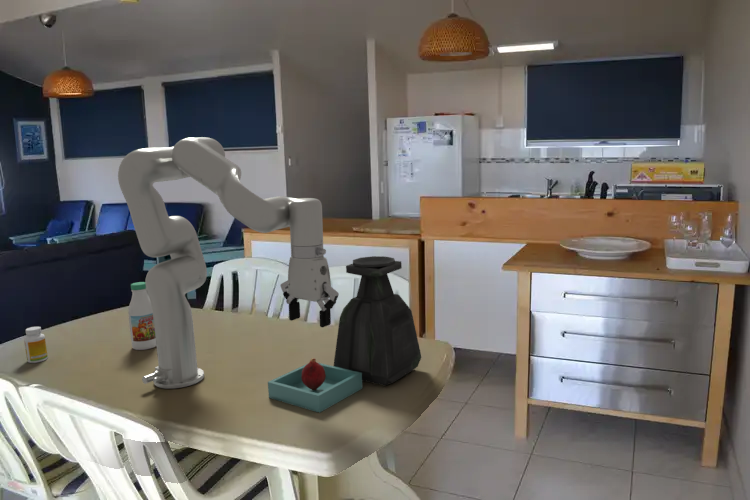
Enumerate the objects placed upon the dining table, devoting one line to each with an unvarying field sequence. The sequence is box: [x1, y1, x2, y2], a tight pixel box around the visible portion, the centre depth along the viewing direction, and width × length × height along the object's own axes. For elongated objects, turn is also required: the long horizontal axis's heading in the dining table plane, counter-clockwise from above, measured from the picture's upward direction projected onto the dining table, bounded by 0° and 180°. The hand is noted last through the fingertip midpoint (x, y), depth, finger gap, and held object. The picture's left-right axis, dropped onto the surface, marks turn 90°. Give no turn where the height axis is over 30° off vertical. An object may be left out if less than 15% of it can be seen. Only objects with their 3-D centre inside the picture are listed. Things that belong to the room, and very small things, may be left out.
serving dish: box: [267, 362, 363, 413], centre depth 149 cm, size 16×16×4 cm
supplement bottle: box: [23, 326, 49, 364], centre depth 181 cm, size 5×5×10 cm
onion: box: [301, 357, 326, 390], centre depth 149 cm, size 6×6×8 cm
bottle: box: [333, 255, 422, 387], centre depth 158 cm, size 18×16×30 cm
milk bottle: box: [127, 281, 157, 351], centre depth 189 cm, size 8×8×20 cm
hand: (309, 322), depth 147 cm, fingers open, 9 cm apart
